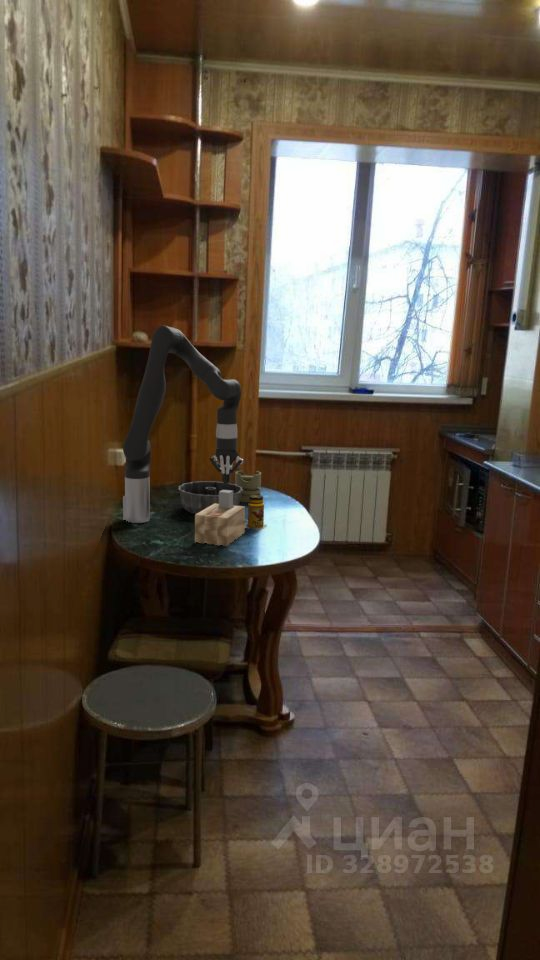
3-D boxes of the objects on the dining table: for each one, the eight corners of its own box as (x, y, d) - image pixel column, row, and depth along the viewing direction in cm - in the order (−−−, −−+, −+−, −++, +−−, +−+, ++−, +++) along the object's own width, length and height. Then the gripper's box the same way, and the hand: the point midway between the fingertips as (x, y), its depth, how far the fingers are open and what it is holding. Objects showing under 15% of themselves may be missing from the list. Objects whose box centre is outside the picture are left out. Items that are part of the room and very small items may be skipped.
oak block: (194, 542, 248) (195, 514, 246) (214, 529, 265) (214, 503, 263) (226, 546, 245) (227, 518, 243) (244, 532, 261) (245, 506, 259)
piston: (259, 475, 306) (233, 474, 307) (259, 502, 308) (233, 501, 309) (262, 470, 317) (237, 469, 318) (261, 497, 319) (236, 495, 320)
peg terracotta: (207, 536, 248) (207, 514, 247) (212, 533, 252) (212, 511, 251) (218, 537, 247) (218, 515, 246) (222, 534, 251) (222, 512, 249)
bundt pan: (253, 509, 298) (254, 485, 296) (221, 523, 275) (221, 497, 273) (200, 500, 309) (200, 478, 307) (165, 513, 286) (165, 489, 284)
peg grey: (218, 513, 257) (218, 491, 255) (222, 510, 260) (223, 489, 259) (228, 514, 255) (229, 492, 254) (232, 512, 259) (233, 490, 257)
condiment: (261, 530, 266) (261, 499, 264) (239, 527, 269) (240, 496, 266) (267, 525, 273) (267, 494, 271) (246, 523, 275) (246, 492, 273)
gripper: (247, 435, 254) (247, 483, 257) (213, 433, 258) (213, 480, 261) (240, 438, 247) (240, 487, 250) (205, 436, 251) (205, 484, 254)
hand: (226, 483), depth 256 cm, fingers closed
